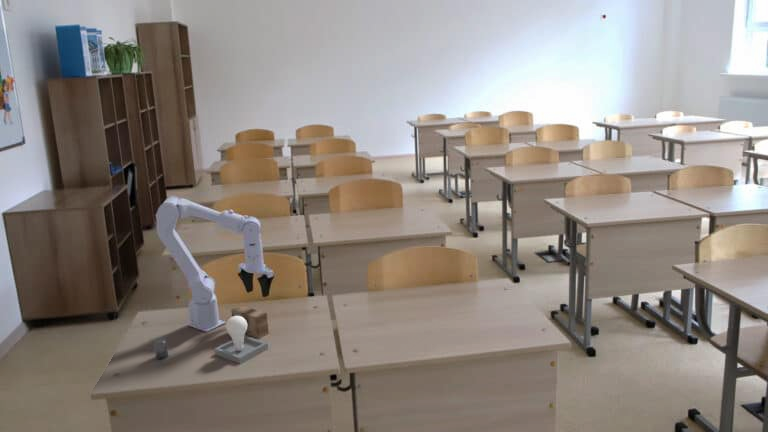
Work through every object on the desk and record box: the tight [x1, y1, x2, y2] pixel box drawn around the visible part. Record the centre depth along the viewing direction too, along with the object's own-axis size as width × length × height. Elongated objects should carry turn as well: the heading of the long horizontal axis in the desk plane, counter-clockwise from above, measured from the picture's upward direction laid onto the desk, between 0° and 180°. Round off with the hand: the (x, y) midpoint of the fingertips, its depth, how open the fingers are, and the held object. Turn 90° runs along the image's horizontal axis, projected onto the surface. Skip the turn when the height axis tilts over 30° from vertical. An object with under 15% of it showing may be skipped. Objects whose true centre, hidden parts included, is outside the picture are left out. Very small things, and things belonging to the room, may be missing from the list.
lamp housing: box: [230, 305, 269, 339], centre depth 201 cm, size 12×5×7 cm, turn 54°
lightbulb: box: [225, 316, 247, 351], centre depth 187 cm, size 6×6×11 cm
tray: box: [214, 334, 269, 365], centre depth 189 cm, size 11×11×2 cm
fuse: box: [153, 338, 170, 361], centre depth 187 cm, size 4×4×5 cm
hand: (257, 293), depth 208 cm, fingers open, 7 cm apart
